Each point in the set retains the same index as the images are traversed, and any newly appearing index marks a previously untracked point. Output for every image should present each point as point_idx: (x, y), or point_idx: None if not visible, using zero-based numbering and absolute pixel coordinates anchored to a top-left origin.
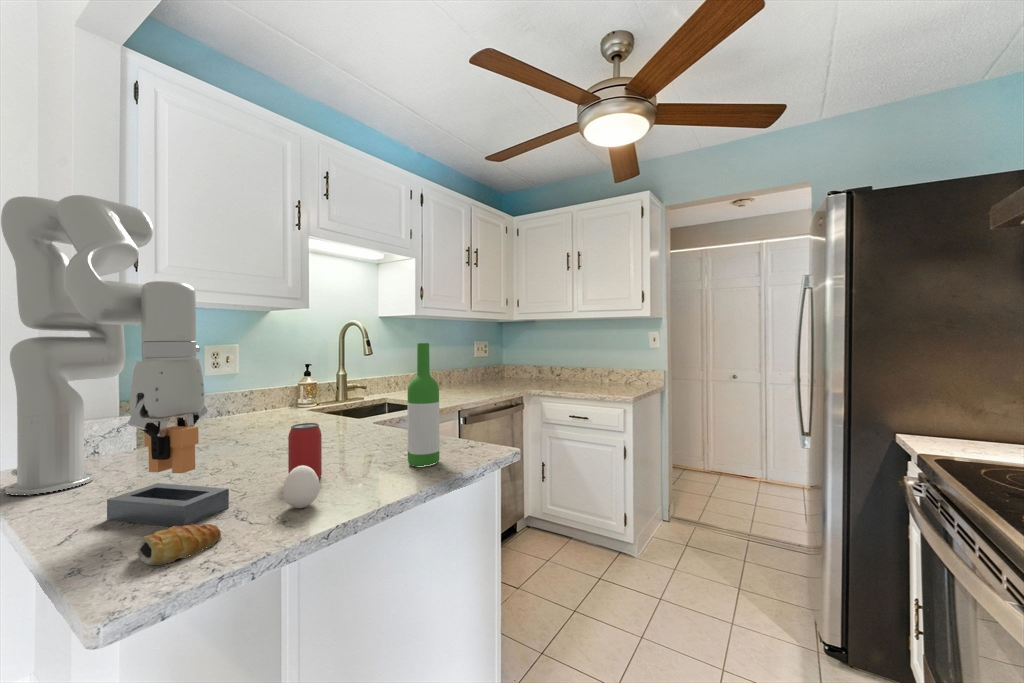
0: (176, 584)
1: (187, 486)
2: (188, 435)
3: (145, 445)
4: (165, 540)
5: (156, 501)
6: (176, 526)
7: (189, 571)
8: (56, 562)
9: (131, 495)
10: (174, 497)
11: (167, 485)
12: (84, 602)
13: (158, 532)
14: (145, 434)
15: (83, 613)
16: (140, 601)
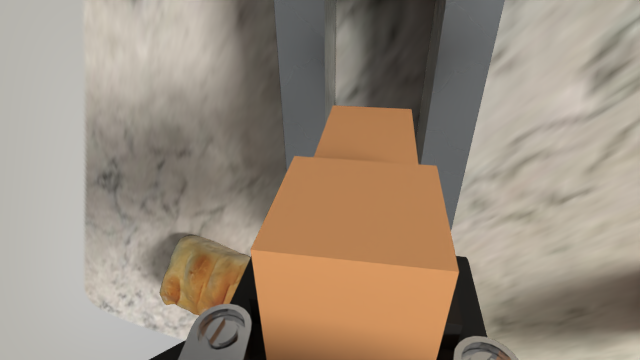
0: (168, 324)
1: (464, 124)
2: None
3: (293, 166)
4: (181, 305)
5: (302, 153)
6: (212, 300)
7: (194, 319)
8: (103, 105)
9: None
10: (428, 86)
11: (480, 18)
12: (93, 264)
13: (186, 286)
14: (268, 223)
15: (86, 280)
16: (130, 313)
